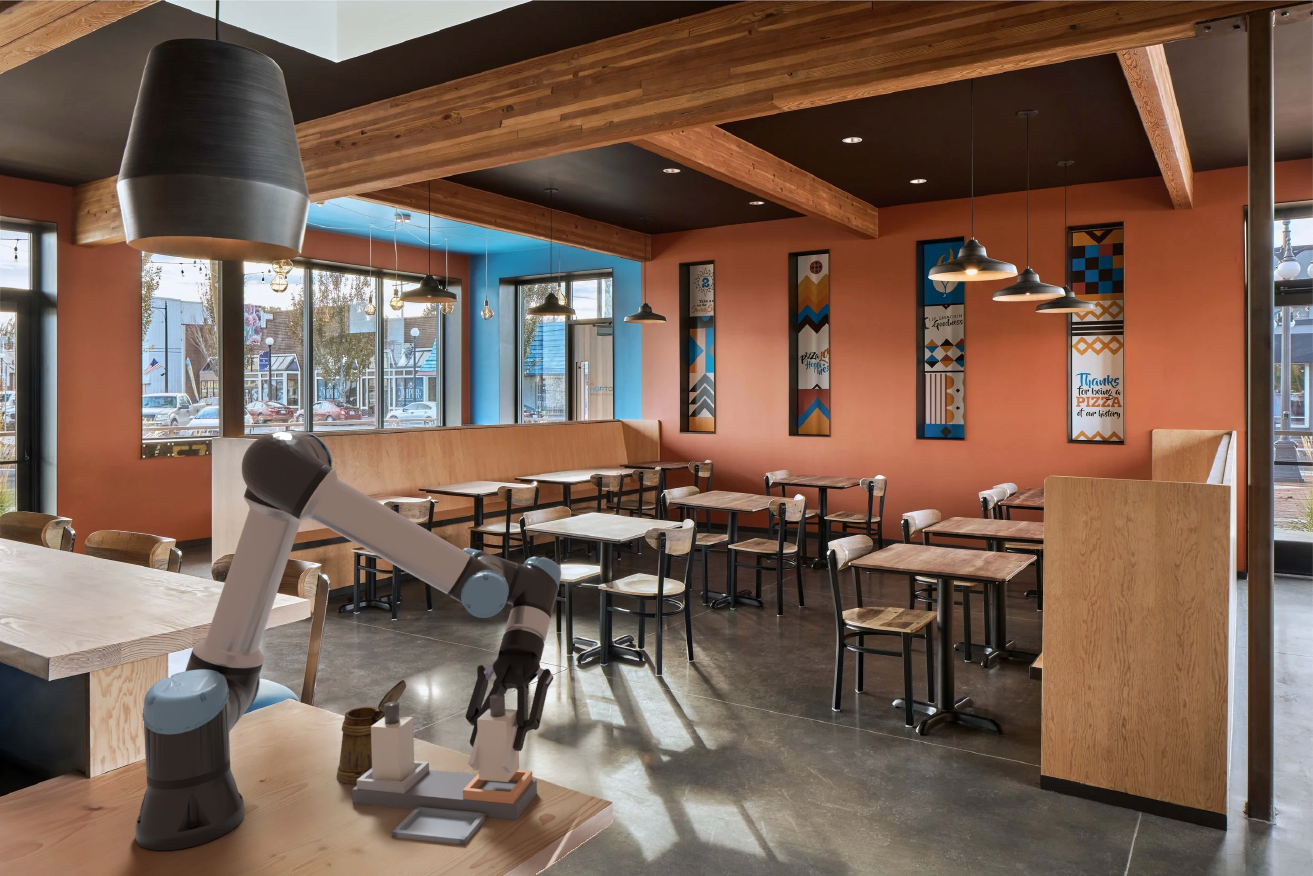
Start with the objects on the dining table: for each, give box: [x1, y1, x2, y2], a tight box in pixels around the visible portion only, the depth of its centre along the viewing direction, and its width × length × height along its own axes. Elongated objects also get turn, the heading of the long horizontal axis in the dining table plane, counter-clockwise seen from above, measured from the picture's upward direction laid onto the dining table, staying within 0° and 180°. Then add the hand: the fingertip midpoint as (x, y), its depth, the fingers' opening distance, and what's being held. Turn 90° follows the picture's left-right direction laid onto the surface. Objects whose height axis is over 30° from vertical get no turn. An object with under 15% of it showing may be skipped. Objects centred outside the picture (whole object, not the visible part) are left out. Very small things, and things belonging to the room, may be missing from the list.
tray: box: [391, 807, 487, 846], centre depth 130 cm, size 12×8×1 cm, turn 78°
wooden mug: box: [336, 679, 407, 785], centre depth 150 cm, size 9×14×18 cm, turn 72°
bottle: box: [477, 694, 520, 782], centre depth 137 cm, size 5×5×13 cm
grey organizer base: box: [351, 760, 538, 821], centre depth 139 cm, size 29×9×4 cm, turn 78°
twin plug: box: [371, 701, 415, 782], centre depth 141 cm, size 5×5×13 cm
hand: (489, 768), depth 134 cm, fingers closed on bottle, 5 cm apart
